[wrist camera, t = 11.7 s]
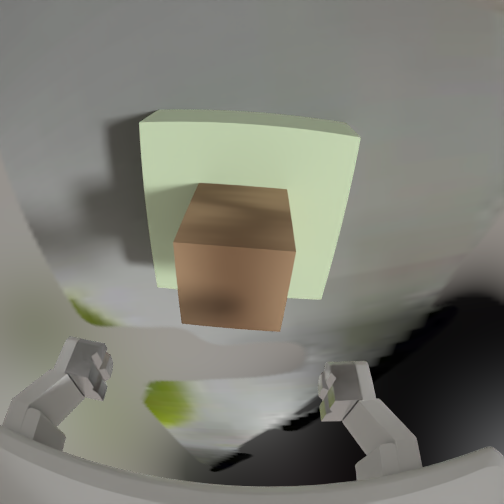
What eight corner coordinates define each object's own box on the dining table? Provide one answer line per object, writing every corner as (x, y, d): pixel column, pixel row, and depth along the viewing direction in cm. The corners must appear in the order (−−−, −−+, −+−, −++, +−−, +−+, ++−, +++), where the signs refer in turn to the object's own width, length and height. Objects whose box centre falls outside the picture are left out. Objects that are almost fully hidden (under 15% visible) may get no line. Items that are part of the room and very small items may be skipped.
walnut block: (200, 253, 20) (181, 323, 16) (198, 182, 17) (173, 242, 13) (276, 259, 20) (279, 331, 16) (286, 189, 18) (295, 252, 13)
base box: (169, 254, 26) (157, 287, 22) (160, 108, 19) (139, 122, 15) (314, 265, 26) (321, 299, 23) (343, 121, 19) (360, 137, 15)
